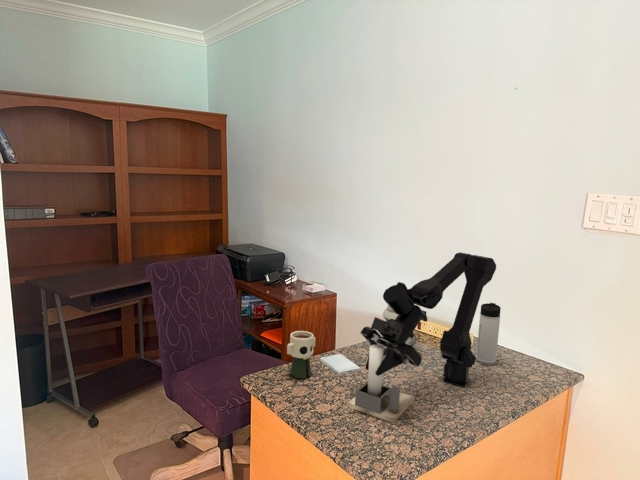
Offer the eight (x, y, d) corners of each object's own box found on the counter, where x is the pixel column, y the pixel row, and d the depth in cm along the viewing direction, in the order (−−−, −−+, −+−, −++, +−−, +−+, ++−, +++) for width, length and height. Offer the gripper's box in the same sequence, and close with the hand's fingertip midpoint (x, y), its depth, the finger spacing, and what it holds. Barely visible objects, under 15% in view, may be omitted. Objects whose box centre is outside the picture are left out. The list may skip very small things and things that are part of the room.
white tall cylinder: (381, 392, 118) (384, 345, 116) (380, 398, 115) (383, 350, 113) (368, 390, 119) (370, 344, 117) (366, 397, 115) (369, 349, 114)
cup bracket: (402, 407, 116) (404, 384, 116) (391, 418, 110) (392, 395, 110) (367, 395, 122) (368, 373, 121) (354, 406, 116) (356, 383, 115)
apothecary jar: (381, 345, 163) (384, 298, 161) (415, 349, 161) (418, 301, 158) (379, 358, 151) (382, 307, 149) (415, 362, 149) (419, 310, 146)
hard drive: (320, 357, 148) (339, 371, 137) (341, 353, 152) (361, 367, 141) (319, 362, 148) (339, 377, 137) (340, 358, 152) (361, 372, 141)
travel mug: (497, 361, 153) (502, 304, 150) (493, 367, 147) (498, 308, 144) (478, 356, 156) (483, 301, 153) (474, 362, 150) (479, 305, 148)
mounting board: (413, 400, 123) (414, 396, 122) (393, 422, 111) (393, 418, 111) (371, 387, 130) (371, 383, 129) (347, 407, 118) (347, 402, 118)
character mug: (294, 384, 130) (295, 342, 128) (279, 376, 135) (280, 335, 133) (321, 374, 137) (323, 334, 135) (306, 367, 142) (307, 327, 140)
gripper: (367, 298, 123) (333, 343, 119) (416, 316, 108) (380, 369, 103) (386, 321, 129) (355, 365, 124) (436, 341, 114) (402, 392, 109)
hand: (371, 371), depth 115 cm, fingers closed on white tall cylinder, 4 cm apart
